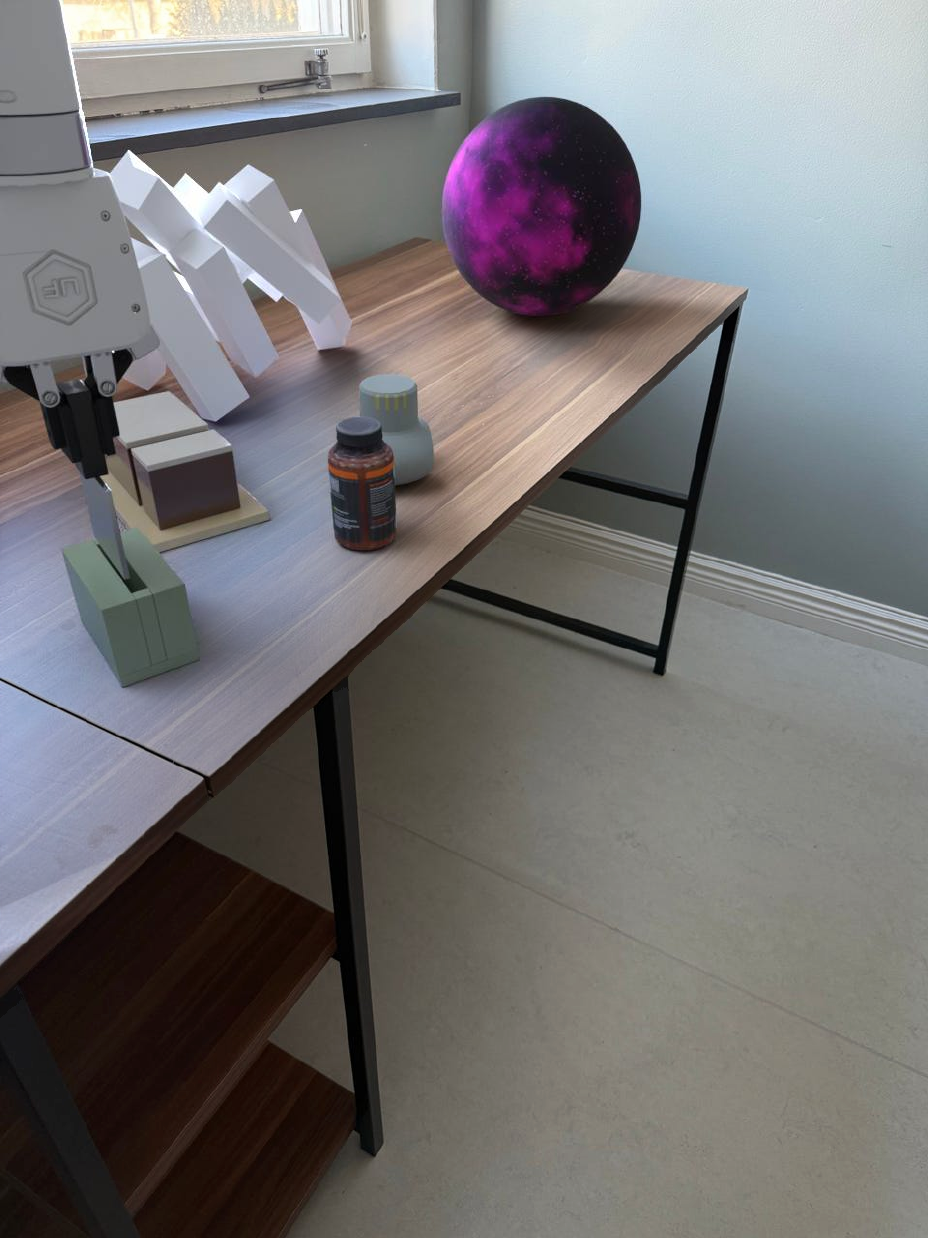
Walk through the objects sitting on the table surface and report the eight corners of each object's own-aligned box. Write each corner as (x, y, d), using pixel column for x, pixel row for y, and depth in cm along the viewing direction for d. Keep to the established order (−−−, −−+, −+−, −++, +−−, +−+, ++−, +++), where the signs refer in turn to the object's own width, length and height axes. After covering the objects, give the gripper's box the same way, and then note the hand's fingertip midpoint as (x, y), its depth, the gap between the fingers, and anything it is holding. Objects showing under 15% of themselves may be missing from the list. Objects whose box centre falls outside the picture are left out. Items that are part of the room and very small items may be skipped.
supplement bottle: (406, 528, 85) (404, 416, 79) (382, 558, 81) (377, 443, 74) (350, 517, 87) (343, 407, 80) (322, 546, 82) (313, 432, 75)
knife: (138, 575, 63) (102, 402, 56) (116, 582, 62) (76, 407, 55) (107, 533, 68) (70, 367, 60) (86, 539, 67) (45, 371, 59)
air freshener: (436, 495, 91) (437, 401, 85) (356, 500, 90) (350, 406, 84) (422, 450, 100) (421, 362, 94) (348, 454, 98) (343, 366, 92)
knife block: (200, 659, 68) (185, 583, 64) (122, 688, 65) (101, 610, 61) (154, 598, 75) (138, 526, 71) (81, 622, 72) (60, 548, 68)
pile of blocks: (236, 358, 138) (76, 139, 114) (404, 297, 126) (266, 39, 102) (163, 516, 116) (-53, 287, 92) (357, 460, 105) (168, 182, 81)
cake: (148, 555, 80) (132, 480, 76) (82, 473, 93) (65, 404, 89) (270, 519, 86) (261, 447, 82) (192, 446, 99) (180, 381, 95)
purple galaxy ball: (420, 331, 133) (418, 102, 116) (463, 280, 157) (467, 83, 140) (619, 350, 128) (649, 113, 111) (633, 294, 152) (659, 92, 135)
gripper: (-132, 165, 43) (-25, 502, 54) (178, 148, 51) (219, 446, 62) (-151, 146, 48) (-49, 458, 59) (134, 133, 56) (179, 411, 66)
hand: (88, 450), depth 60 cm, fingers closed on knife, 1 cm apart
